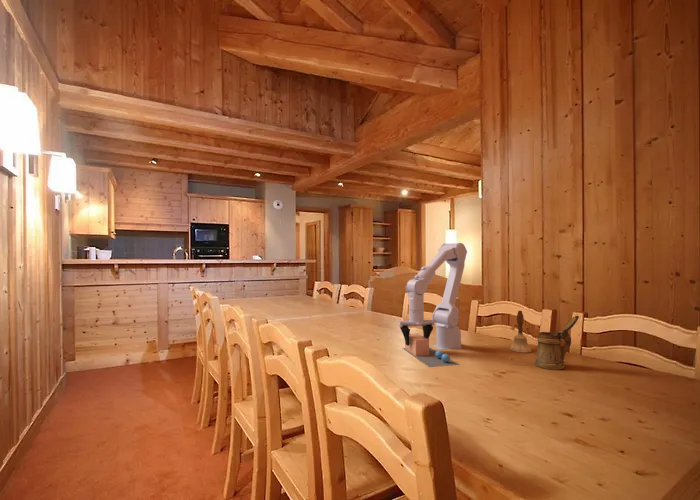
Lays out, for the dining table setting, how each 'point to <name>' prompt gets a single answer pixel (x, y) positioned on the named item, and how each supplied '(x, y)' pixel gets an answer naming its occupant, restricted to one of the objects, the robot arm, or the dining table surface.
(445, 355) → the blue marble
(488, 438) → the dining table surface
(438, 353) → the blue marble
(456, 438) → the dining table surface
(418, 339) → the terracotta cover
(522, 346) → the hand bell
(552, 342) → the wooden mug
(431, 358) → the charcoal mat
